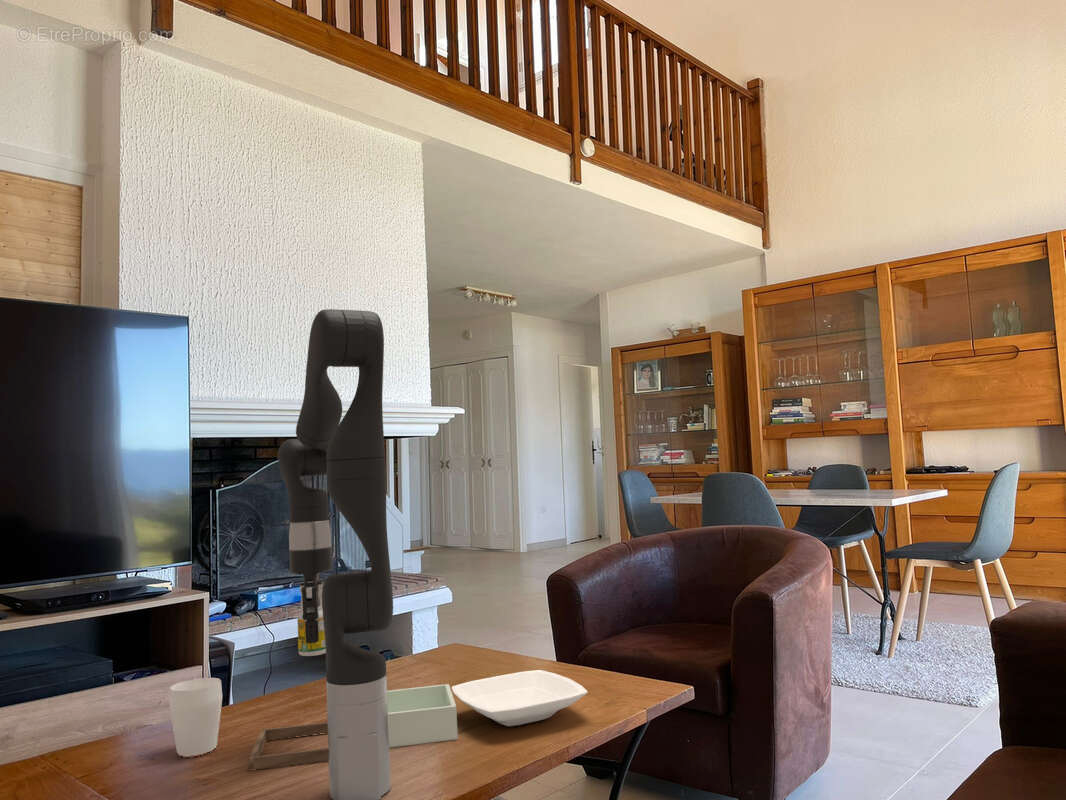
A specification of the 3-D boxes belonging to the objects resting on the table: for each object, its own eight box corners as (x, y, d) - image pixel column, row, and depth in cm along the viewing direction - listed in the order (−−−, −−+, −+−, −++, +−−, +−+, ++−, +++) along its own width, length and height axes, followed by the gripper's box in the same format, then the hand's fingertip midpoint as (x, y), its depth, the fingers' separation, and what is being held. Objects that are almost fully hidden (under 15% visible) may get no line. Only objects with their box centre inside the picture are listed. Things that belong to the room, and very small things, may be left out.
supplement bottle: (332, 653, 143) (330, 599, 144) (302, 658, 140) (300, 603, 141) (324, 648, 147) (322, 596, 148) (295, 652, 145) (293, 599, 146)
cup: (165, 763, 138) (164, 693, 139) (174, 746, 147) (173, 681, 148) (220, 755, 141) (219, 687, 142) (226, 739, 149) (224, 675, 150)
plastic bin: (457, 739, 142) (456, 706, 143) (370, 749, 139) (368, 716, 140) (450, 713, 158) (448, 683, 158) (371, 722, 155) (369, 692, 155)
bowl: (442, 715, 157) (441, 686, 158) (545, 694, 168) (544, 666, 168) (486, 748, 137) (485, 715, 138) (600, 722, 148) (598, 691, 148)
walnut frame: (343, 759, 136) (343, 747, 136) (249, 771, 133) (248, 758, 133) (347, 730, 151) (347, 719, 151) (262, 740, 148) (262, 729, 148)
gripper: (329, 547, 139) (332, 645, 138) (333, 541, 153) (336, 630, 152) (285, 551, 138) (288, 649, 136) (293, 544, 152) (295, 634, 150)
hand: (313, 638), depth 144 cm, fingers closed on supplement bottle, 5 cm apart
